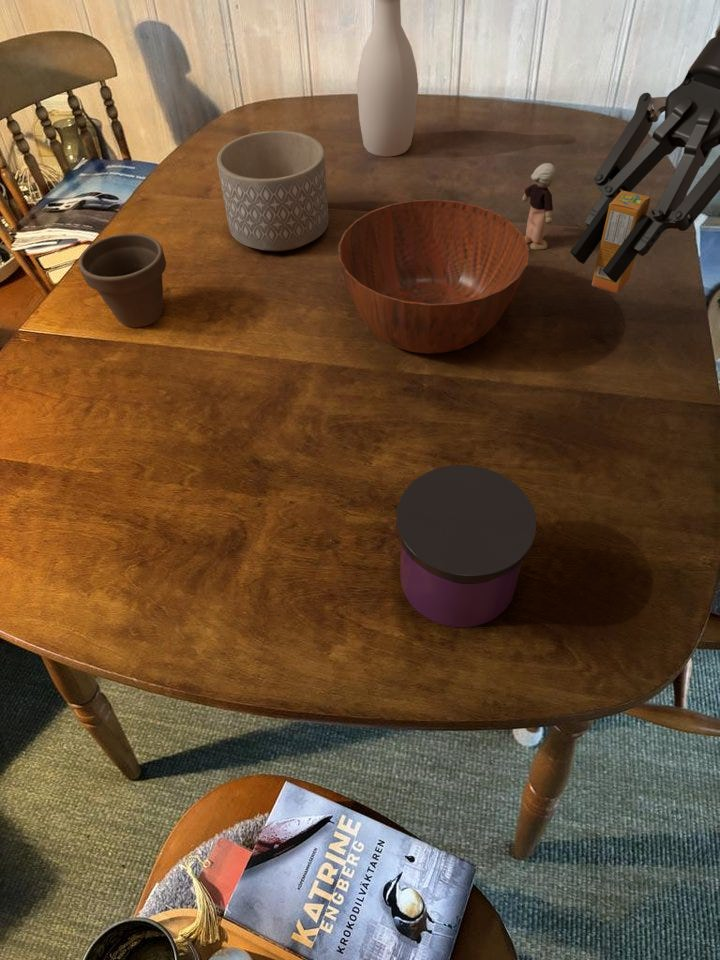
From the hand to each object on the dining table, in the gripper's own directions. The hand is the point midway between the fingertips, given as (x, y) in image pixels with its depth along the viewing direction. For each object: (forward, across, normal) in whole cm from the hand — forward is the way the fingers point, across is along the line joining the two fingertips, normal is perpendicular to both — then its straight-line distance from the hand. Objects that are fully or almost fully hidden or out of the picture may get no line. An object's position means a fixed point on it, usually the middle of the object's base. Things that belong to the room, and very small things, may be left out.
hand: (593, 266), depth 76 cm
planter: (+17, +57, -10) cm, 61 cm away
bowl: (+15, +24, -13) cm, 31 cm away
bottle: (-6, +69, -33) cm, 77 cm away
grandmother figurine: (-3, +28, -31) cm, 42 cm away
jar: (+34, -11, +5) cm, 36 cm away
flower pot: (+38, +51, +10) cm, 64 cm away
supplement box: (0, 0, -6) cm, 6 cm away
